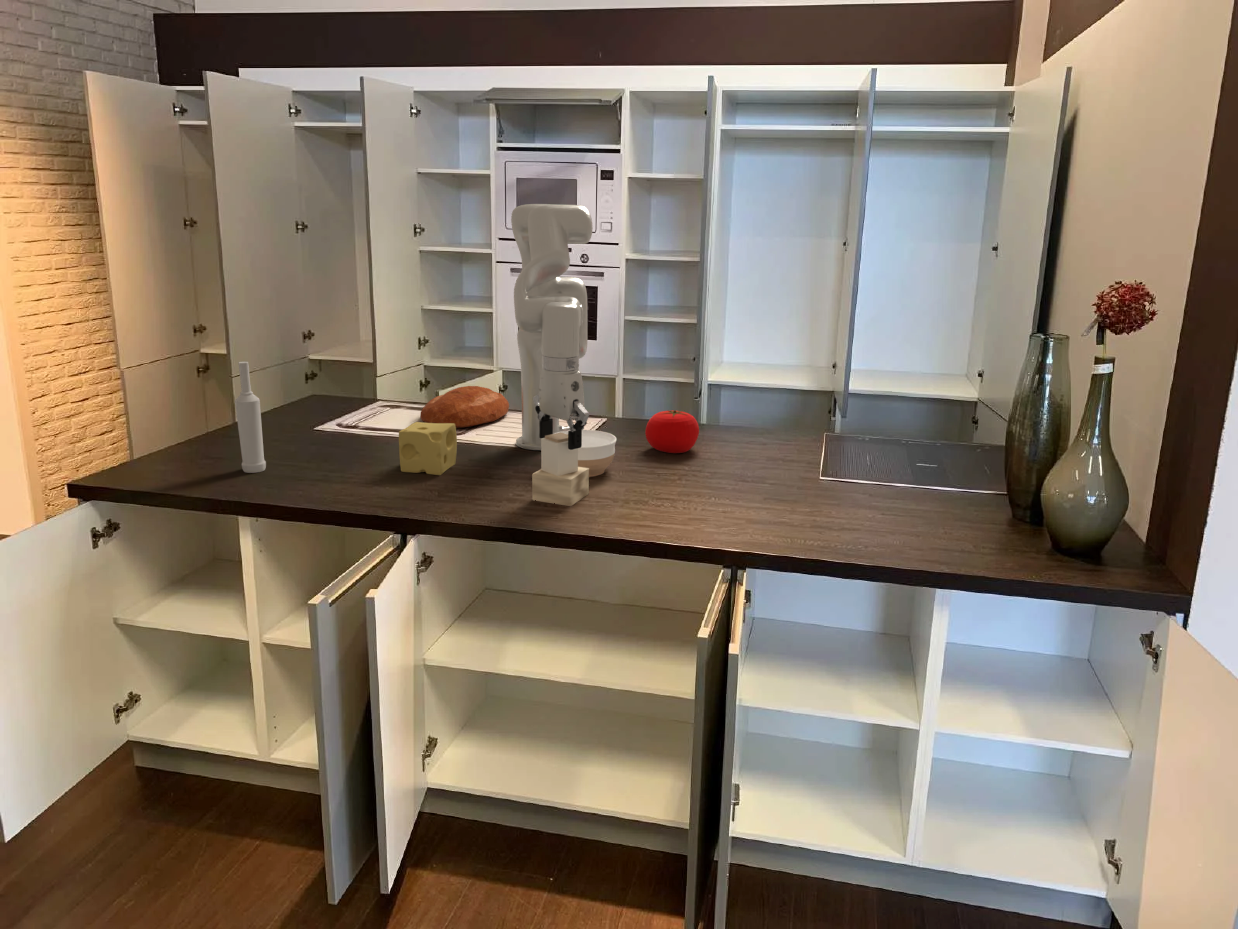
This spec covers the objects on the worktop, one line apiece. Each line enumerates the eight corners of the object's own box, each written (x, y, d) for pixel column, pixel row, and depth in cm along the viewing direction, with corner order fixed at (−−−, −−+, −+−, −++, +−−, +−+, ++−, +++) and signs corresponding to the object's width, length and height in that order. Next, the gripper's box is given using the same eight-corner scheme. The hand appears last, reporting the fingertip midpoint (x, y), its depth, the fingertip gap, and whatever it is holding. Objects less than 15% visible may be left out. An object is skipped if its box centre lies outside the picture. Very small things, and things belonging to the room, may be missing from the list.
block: (551, 488, 199) (551, 462, 198) (588, 494, 196) (588, 468, 194) (532, 500, 191) (532, 473, 190) (570, 507, 188) (570, 479, 186)
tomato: (669, 460, 221) (671, 419, 218) (634, 449, 231) (635, 409, 228) (709, 451, 231) (711, 411, 228) (674, 440, 240) (675, 402, 237)
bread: (403, 427, 248) (402, 396, 245) (454, 403, 277) (453, 375, 275) (479, 435, 242) (478, 402, 240) (523, 409, 272) (523, 380, 269)
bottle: (271, 468, 209) (261, 361, 202) (254, 474, 204) (242, 365, 197) (254, 465, 211) (243, 359, 204) (237, 471, 207) (225, 363, 199)
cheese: (441, 476, 206) (439, 433, 203) (397, 472, 208) (395, 430, 205) (458, 463, 216) (456, 422, 213) (416, 460, 218) (414, 419, 215)
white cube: (561, 465, 196) (561, 431, 194) (577, 471, 192) (578, 436, 190) (541, 470, 192) (541, 435, 190) (557, 476, 189) (557, 441, 186)
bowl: (584, 457, 223) (584, 425, 221) (630, 471, 213) (631, 438, 210) (534, 469, 213) (533, 436, 210) (579, 485, 202) (579, 451, 199)
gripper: (601, 368, 182) (600, 449, 187) (549, 354, 194) (549, 430, 199) (573, 373, 177) (572, 456, 183) (520, 358, 189) (521, 436, 195)
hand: (560, 442), depth 191 cm, fingers open, 9 cm apart
